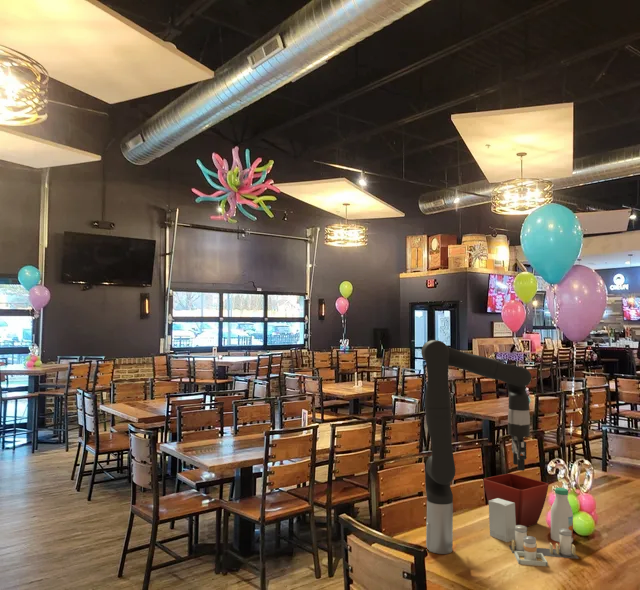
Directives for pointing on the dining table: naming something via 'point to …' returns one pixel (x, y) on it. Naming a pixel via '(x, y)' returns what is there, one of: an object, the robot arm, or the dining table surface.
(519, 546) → the cylinder
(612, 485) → the dining table surface
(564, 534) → the cylinder
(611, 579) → the dining table surface
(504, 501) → the skincare box
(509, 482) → the plant pot
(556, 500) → the milk bottle
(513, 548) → the fuse block
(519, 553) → the grey square frame
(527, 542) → the fuse marked
